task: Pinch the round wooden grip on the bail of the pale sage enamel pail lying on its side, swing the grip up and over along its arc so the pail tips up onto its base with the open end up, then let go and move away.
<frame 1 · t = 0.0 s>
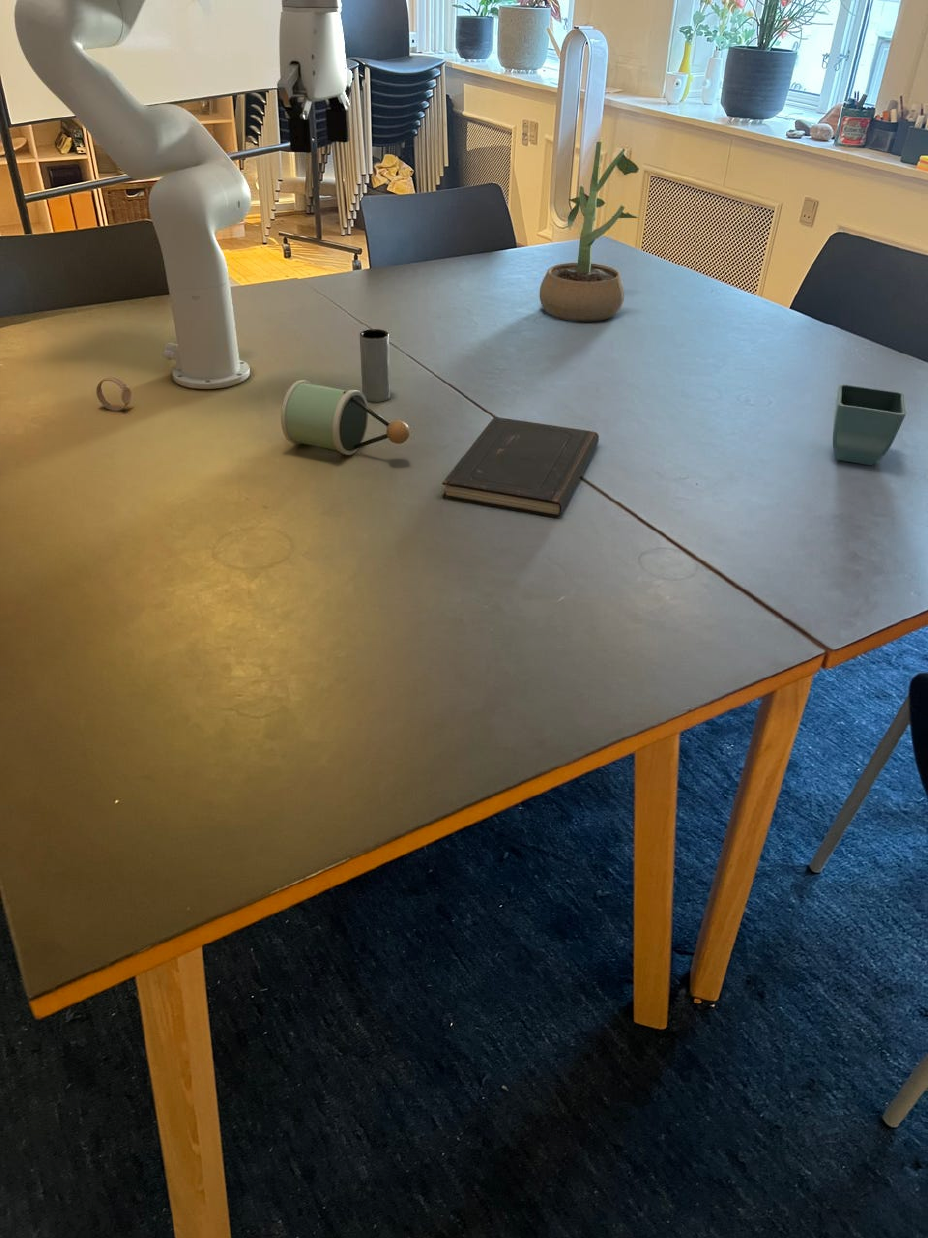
hand: (320, 146, 130), 37 cm above the table, tool pointing down, fingers open, 9 cm apart
flower pot: (854, 458, 138), on the table
pail: (352, 422, 133), point 5 cm above the table, hinge at 0.0°
potted plant: (584, 308, 194), on the table
hardcover book: (524, 472, 132), on the table
grey piece: (376, 397, 153), on the table
brown ring-shaped band: (116, 410, 147), on the table
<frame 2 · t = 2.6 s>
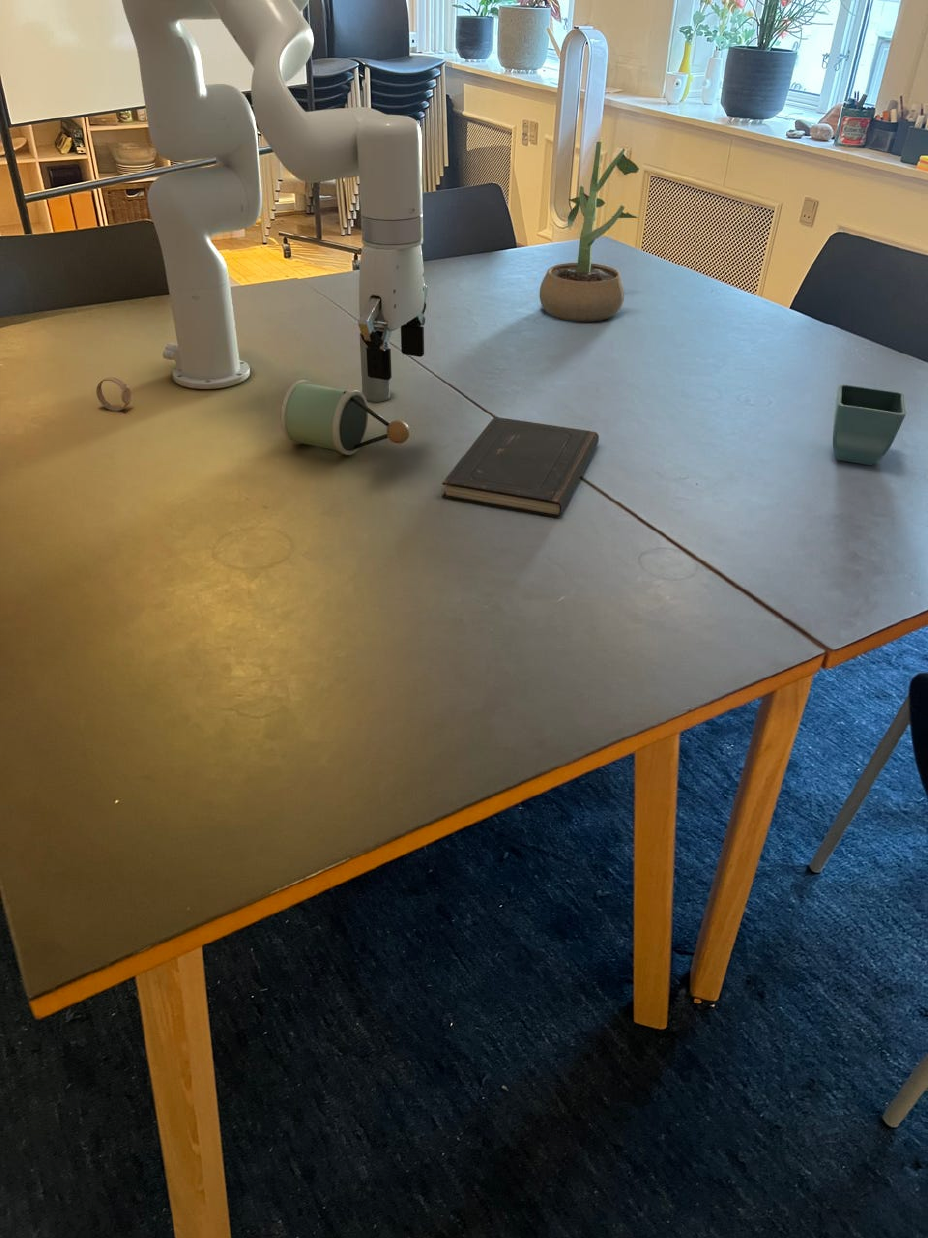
hand: (396, 366, 126), 14 cm above the table, tool pointing down, fingers open, 9 cm apart
nothing on the table moved.
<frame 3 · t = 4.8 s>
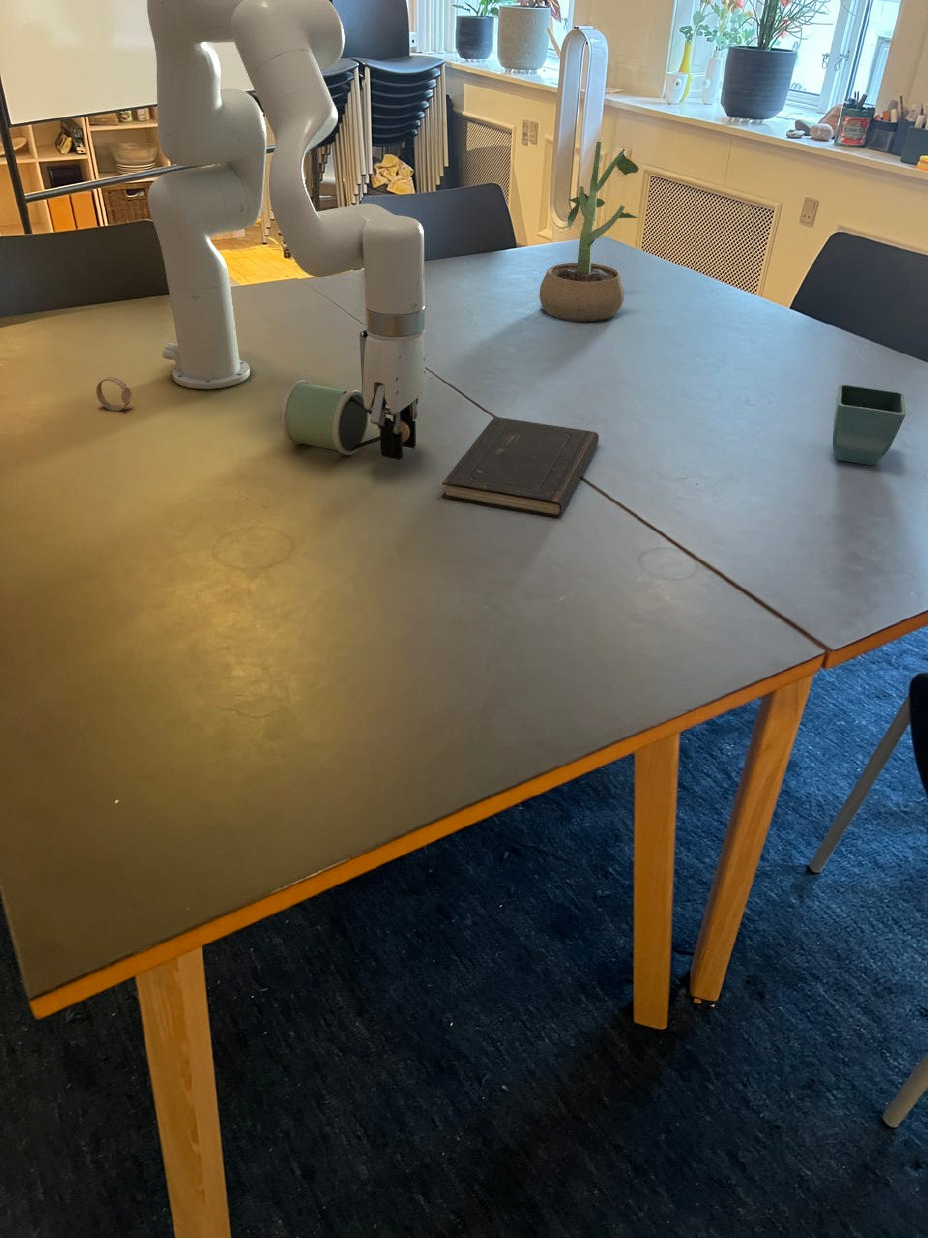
hand: (398, 450, 132), 2 cm above the table, tool pointing down, fingers closed on pail, 3 cm apart
pail: (352, 422, 133), point 5 cm above the table, hinge at 0.0°, touching gripper
everything else where it was.
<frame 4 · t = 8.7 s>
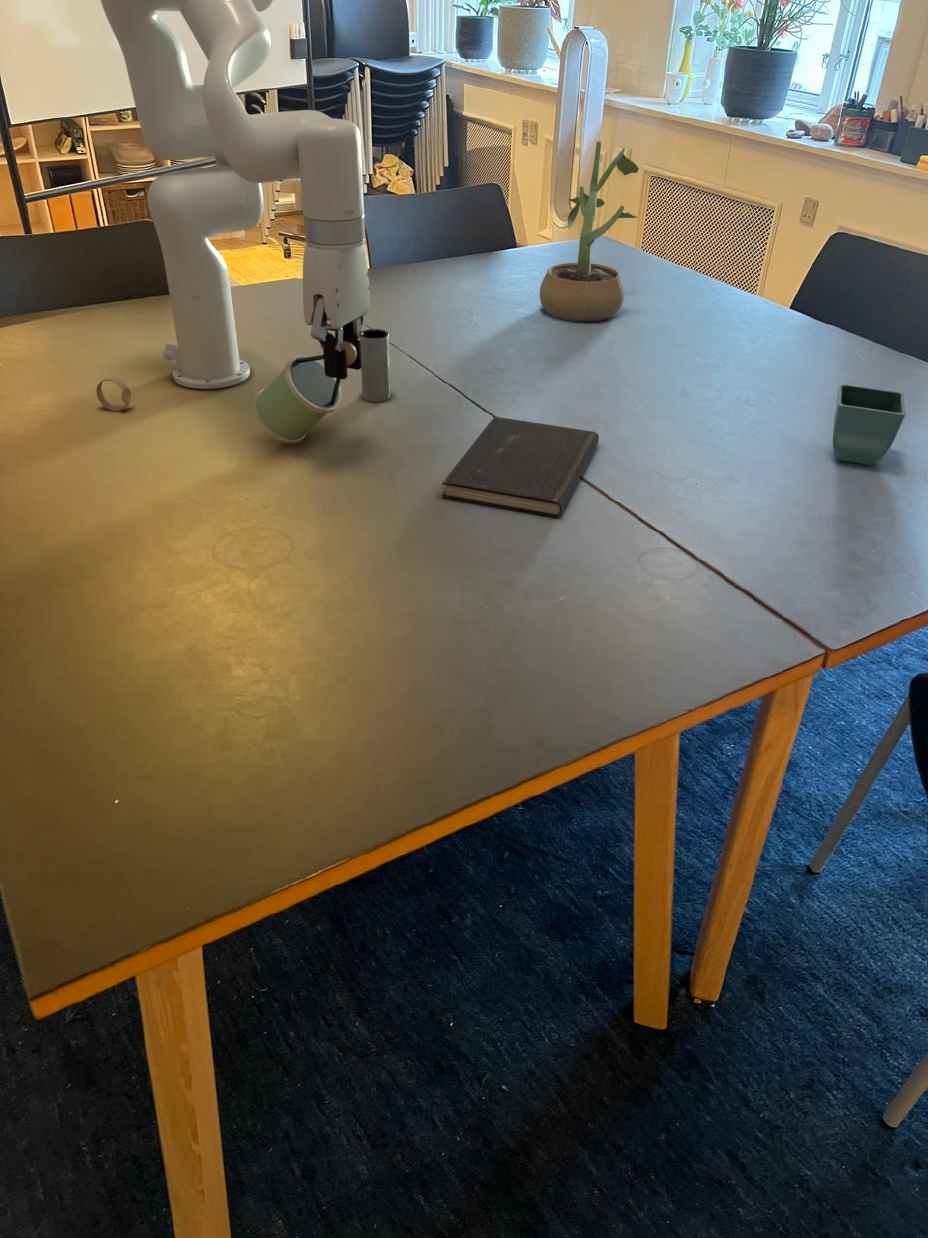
hand: (343, 371, 129), 12 cm above the table, tool pointing down, fingers closed on pail, 3 cm apart
pail: (314, 383, 132), point 9 cm above the table, hinge at 44.3°, touching gripper
everything else where it was.
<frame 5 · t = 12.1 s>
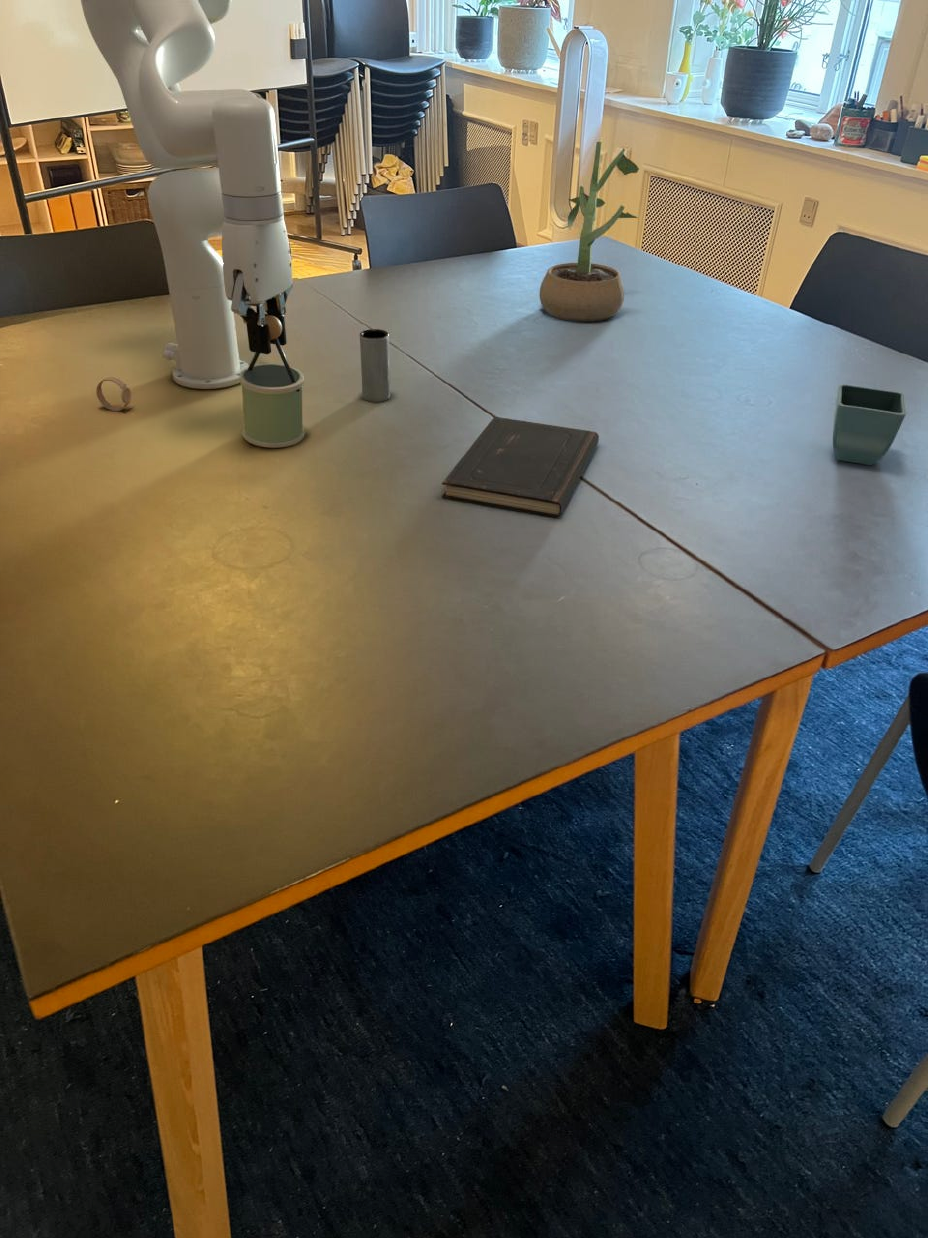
hand: (268, 346, 132), 14 cm above the table, tool pointing down, fingers closed on pail, 3 cm apart
pail: (271, 377, 134), point 9 cm above the table, hinge at 85.5°, touching gripper
everything else where it was.
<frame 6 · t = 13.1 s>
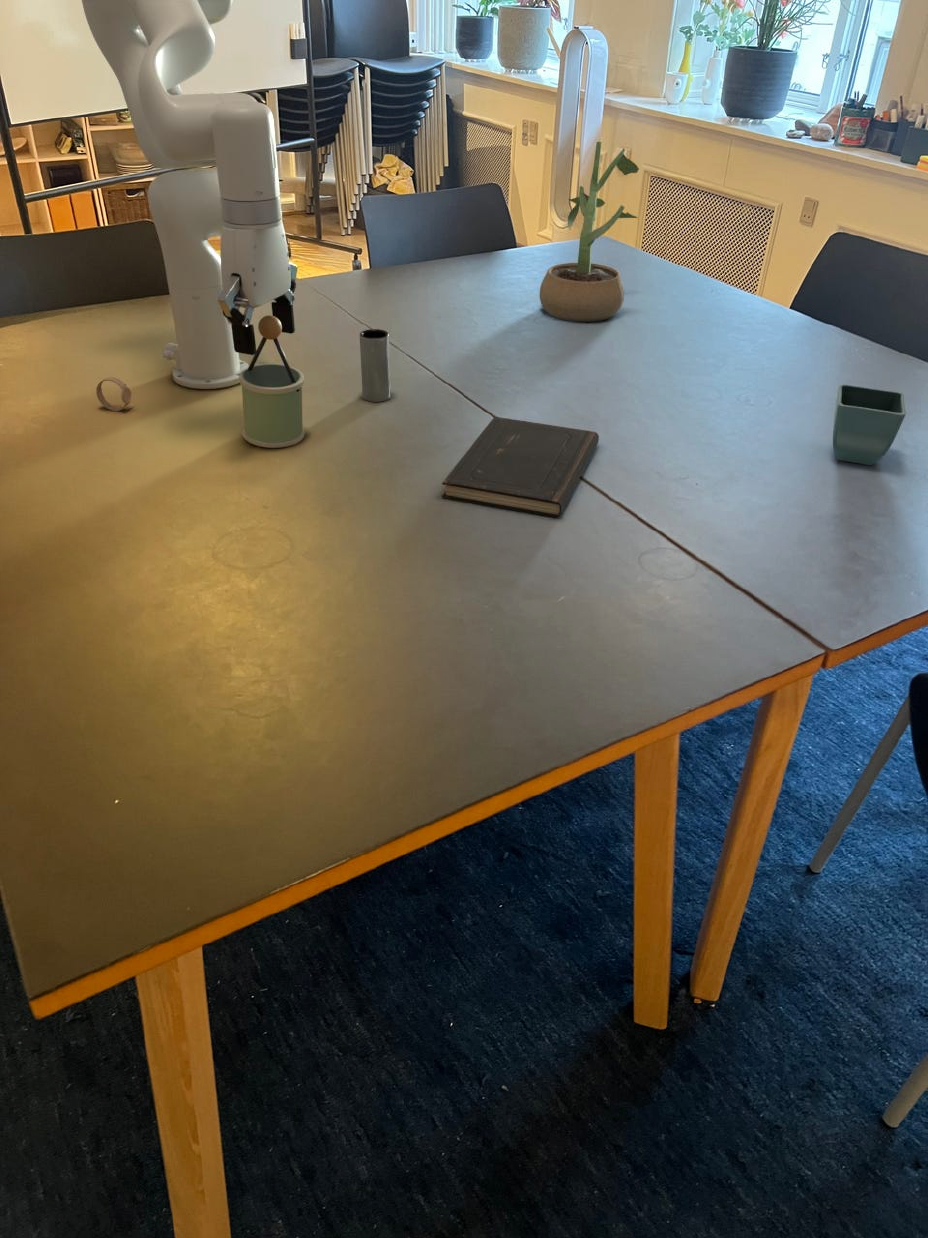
hand: (265, 341, 132), 14 cm above the table, tool pointing down, fingers open, 9 cm apart
pail: (271, 377, 134), point 9 cm above the table, hinge at 85.5°
everything else where it was.
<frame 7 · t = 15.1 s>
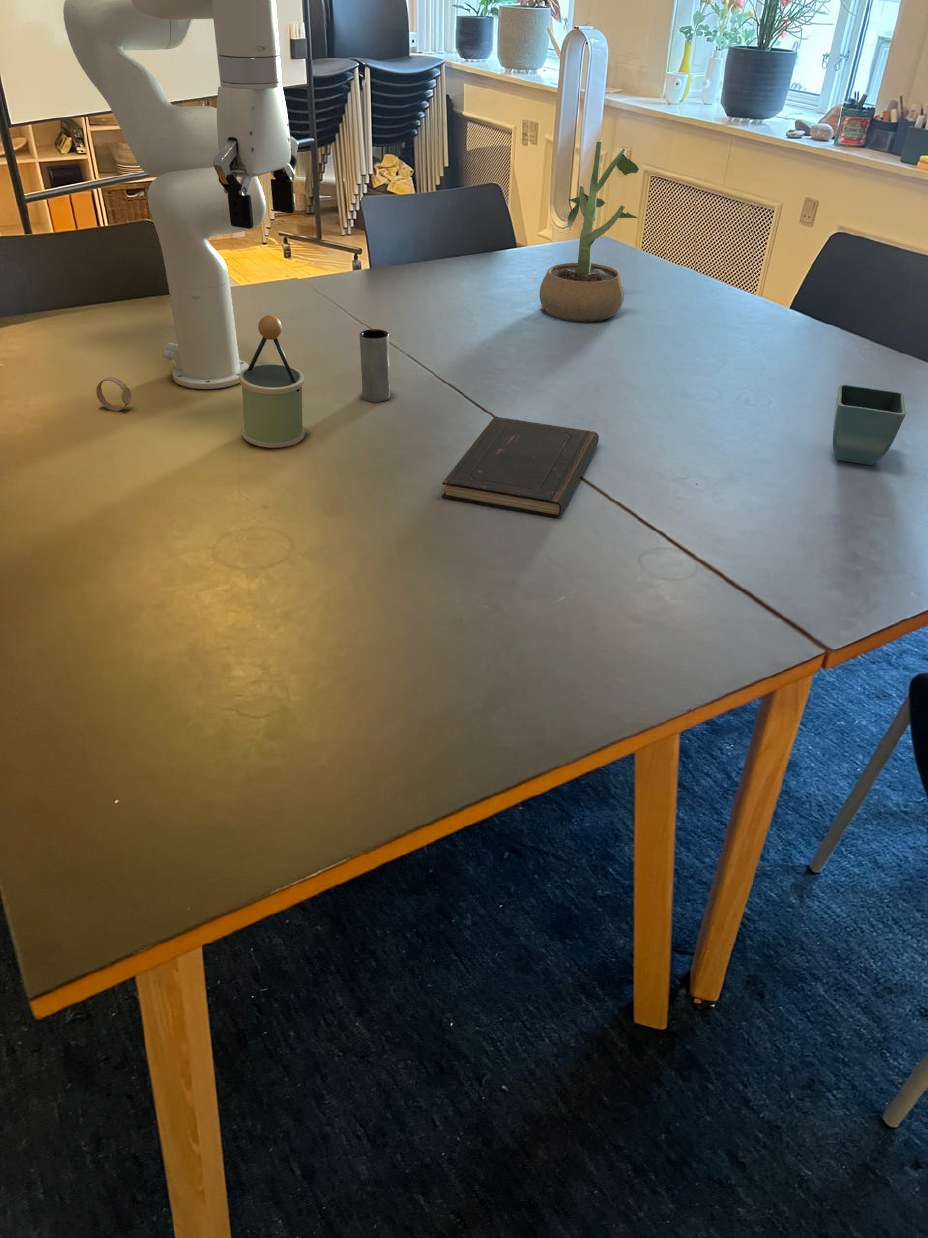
hand: (263, 219, 126), 29 cm above the table, tool pointing down, fingers open, 9 cm apart
nothing on the table moved.
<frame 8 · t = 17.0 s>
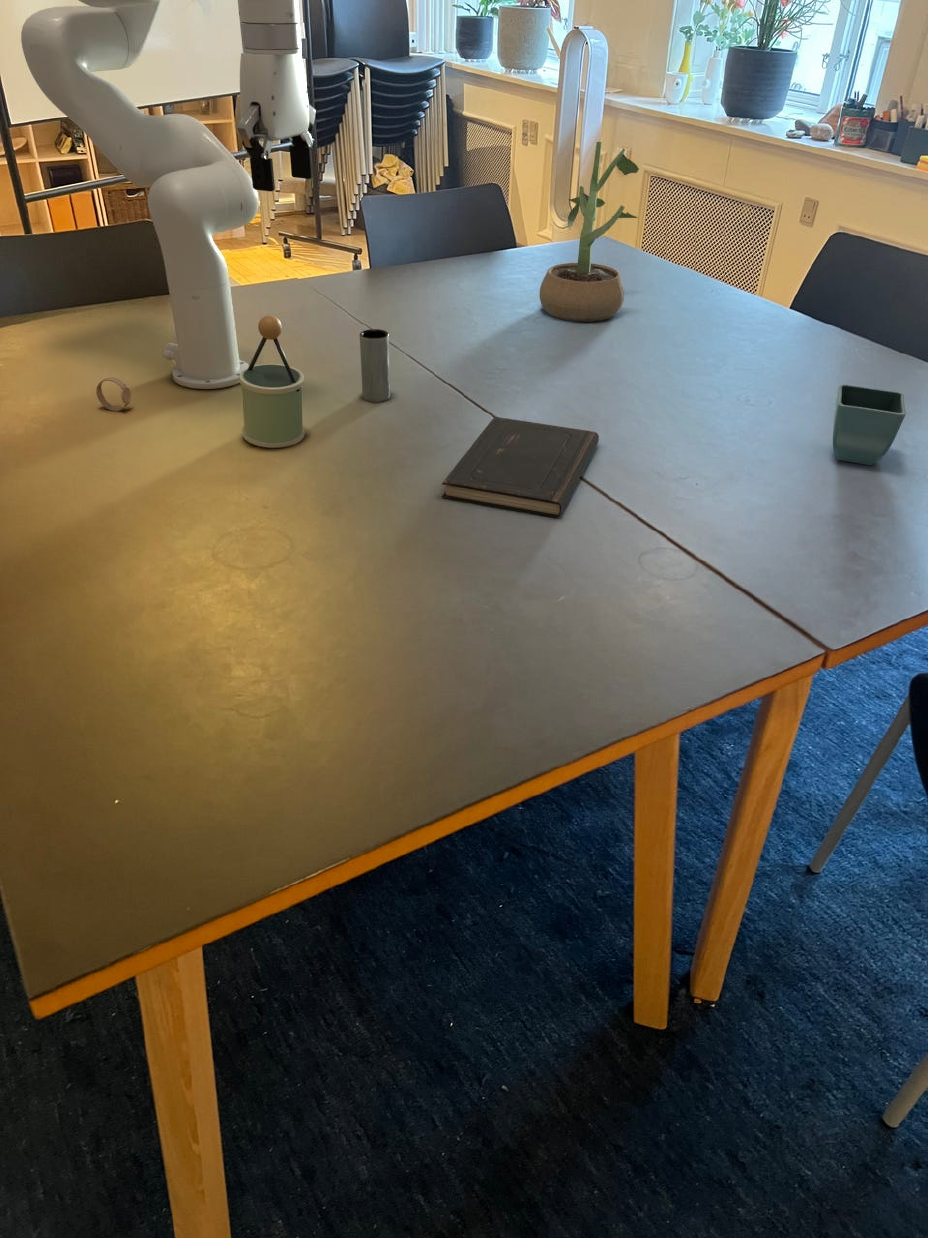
hand: (283, 183, 131), 32 cm above the table, tool pointing down, fingers open, 9 cm apart
nothing on the table moved.
at the end: pail at +86° (first picture: +0°); the gripper is holding nothing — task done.
